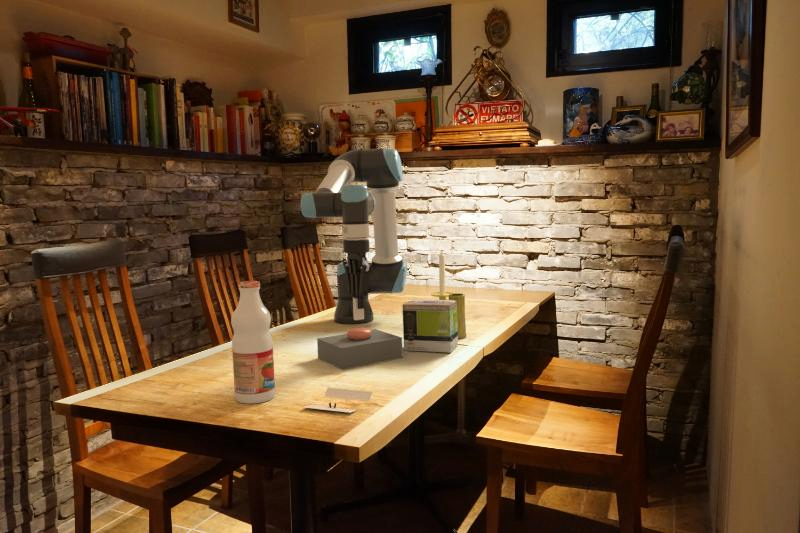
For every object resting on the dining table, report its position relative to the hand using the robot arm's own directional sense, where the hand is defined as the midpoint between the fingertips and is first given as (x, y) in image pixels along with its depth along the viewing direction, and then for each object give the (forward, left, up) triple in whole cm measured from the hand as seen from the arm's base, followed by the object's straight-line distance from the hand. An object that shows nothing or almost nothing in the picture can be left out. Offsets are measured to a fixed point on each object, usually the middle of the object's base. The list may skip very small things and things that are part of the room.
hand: (358, 319), depth 180 cm
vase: (-3, +39, -12) cm, 41 cm away
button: (0, 0, -11) cm, 11 cm away
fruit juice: (+16, -38, -12) cm, 43 cm away
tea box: (+4, +23, -12) cm, 26 cm away
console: (0, 0, -12) cm, 12 cm away
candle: (-29, +53, -12) cm, 61 cm away
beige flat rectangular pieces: (+32, -24, -12) cm, 42 cm away
